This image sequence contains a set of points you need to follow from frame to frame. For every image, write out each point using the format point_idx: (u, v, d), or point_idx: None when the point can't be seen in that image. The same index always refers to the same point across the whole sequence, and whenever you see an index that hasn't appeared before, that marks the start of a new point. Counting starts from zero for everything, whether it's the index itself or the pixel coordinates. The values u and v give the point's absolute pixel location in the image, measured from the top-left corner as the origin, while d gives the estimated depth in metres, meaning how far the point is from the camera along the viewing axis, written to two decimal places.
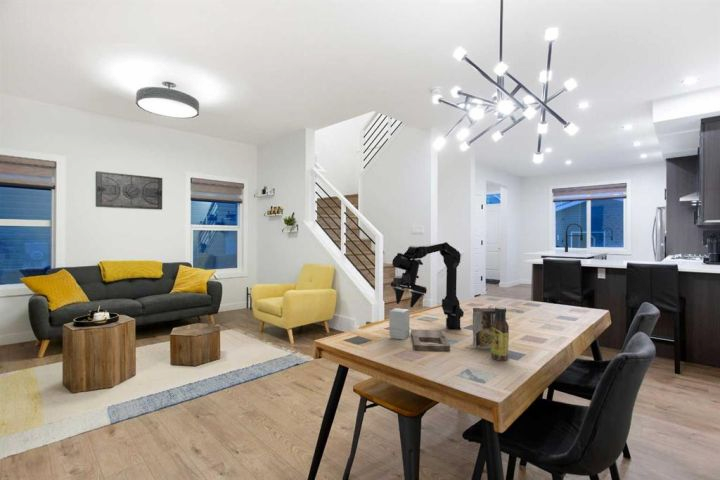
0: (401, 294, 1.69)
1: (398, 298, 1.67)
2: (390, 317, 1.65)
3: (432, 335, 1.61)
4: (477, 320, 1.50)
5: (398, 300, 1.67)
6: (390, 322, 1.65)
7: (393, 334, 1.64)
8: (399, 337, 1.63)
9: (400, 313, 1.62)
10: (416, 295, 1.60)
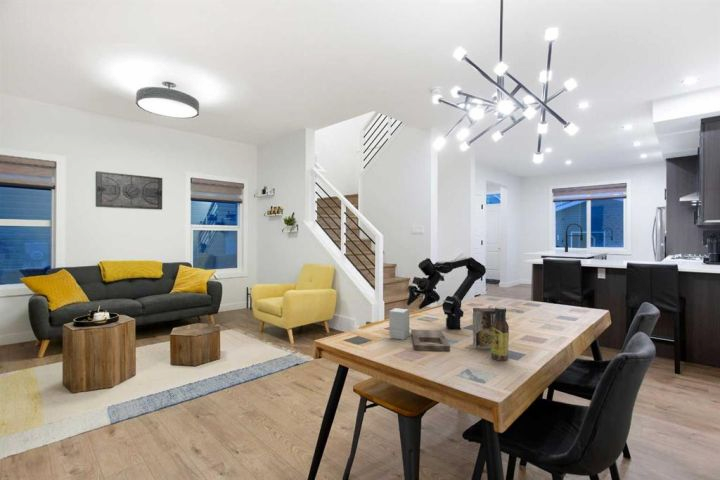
0: (414, 299, 1.76)
1: (410, 300, 1.75)
2: (390, 317, 1.65)
3: (432, 335, 1.61)
4: (477, 320, 1.49)
5: (409, 302, 1.75)
6: (390, 322, 1.65)
7: (393, 334, 1.64)
8: (399, 337, 1.63)
9: (400, 313, 1.62)
10: (428, 300, 1.67)
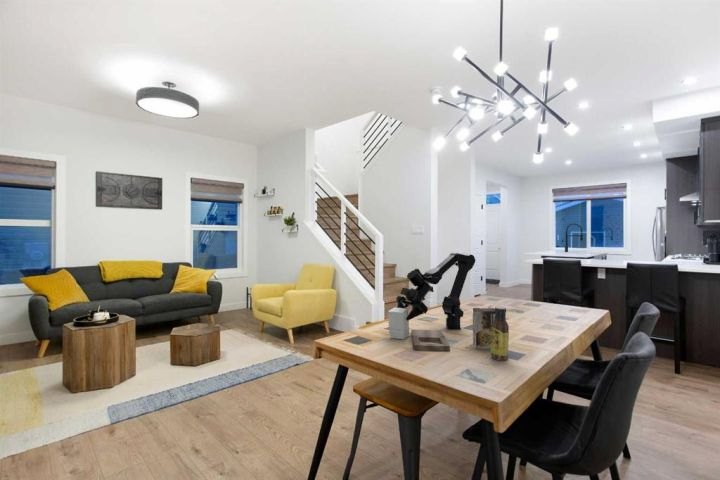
0: None
1: None
2: (389, 317, 1.64)
3: (432, 335, 1.61)
4: (477, 320, 1.50)
5: None
6: (389, 322, 1.64)
7: (393, 334, 1.64)
8: (399, 337, 1.63)
9: (399, 313, 1.62)
10: (416, 311, 1.64)
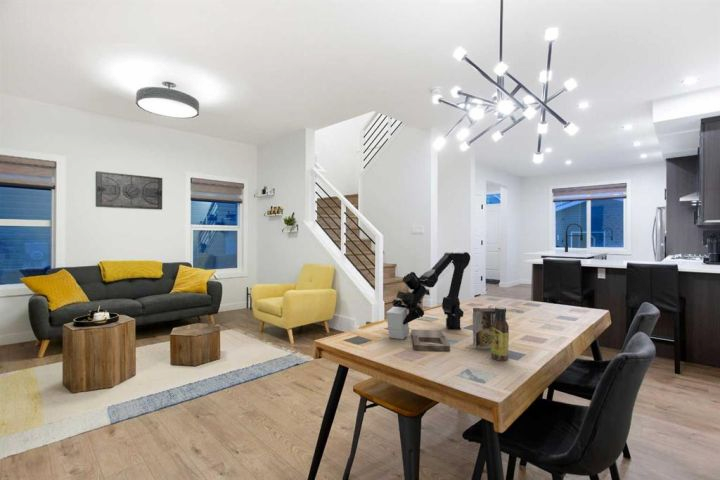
0: None
1: None
2: (387, 318, 1.63)
3: (432, 335, 1.61)
4: (477, 320, 1.50)
5: None
6: (388, 323, 1.64)
7: (392, 334, 1.64)
8: (398, 337, 1.62)
9: (397, 314, 1.60)
10: (412, 315, 1.62)
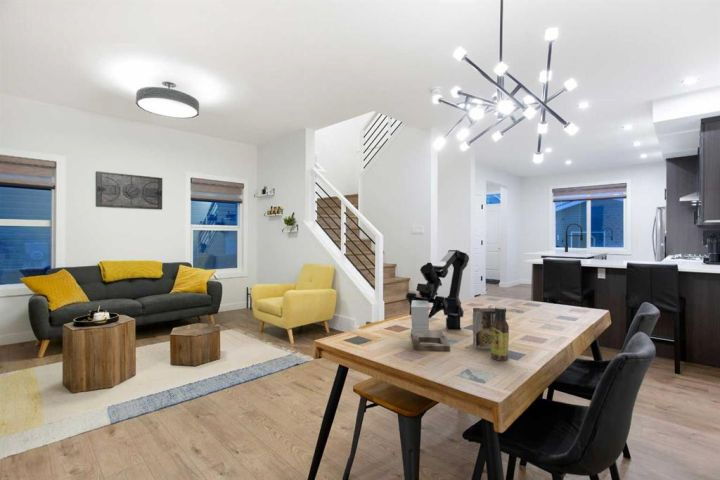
0: None
1: None
2: (412, 313, 1.52)
3: (432, 335, 1.61)
4: (477, 320, 1.50)
5: None
6: (412, 318, 1.53)
7: (416, 329, 1.54)
8: (423, 332, 1.53)
9: (424, 308, 1.51)
10: (436, 307, 1.55)
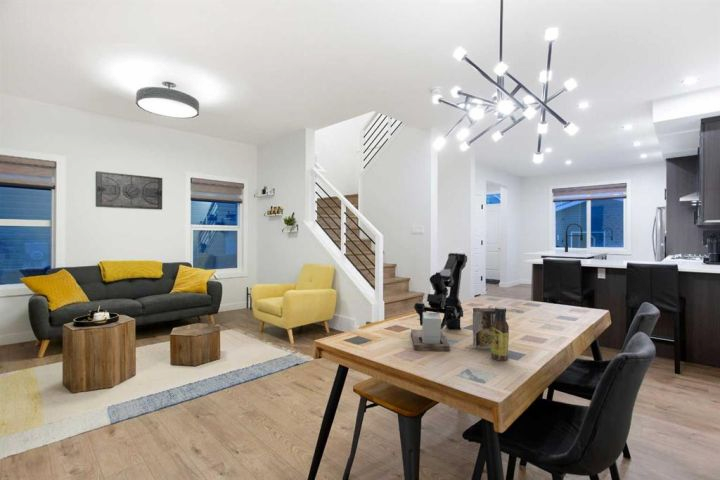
0: None
1: None
2: (425, 325, 1.51)
3: None
4: (477, 320, 1.50)
5: None
6: (425, 330, 1.51)
7: (428, 342, 1.52)
8: None
9: (437, 320, 1.50)
10: (447, 318, 1.55)
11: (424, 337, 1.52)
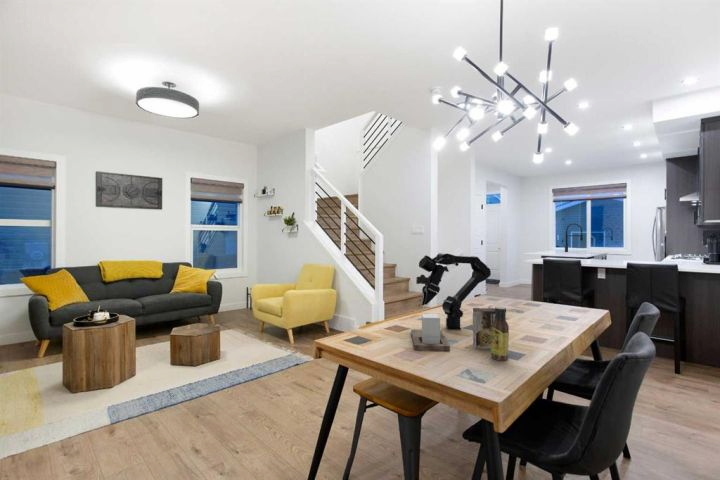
0: None
1: (424, 300, 1.81)
2: (424, 324, 1.52)
3: None
4: (477, 320, 1.50)
5: (424, 301, 1.80)
6: (424, 330, 1.52)
7: (427, 342, 1.52)
8: None
9: (436, 319, 1.52)
10: (431, 294, 1.71)
11: (424, 337, 1.52)
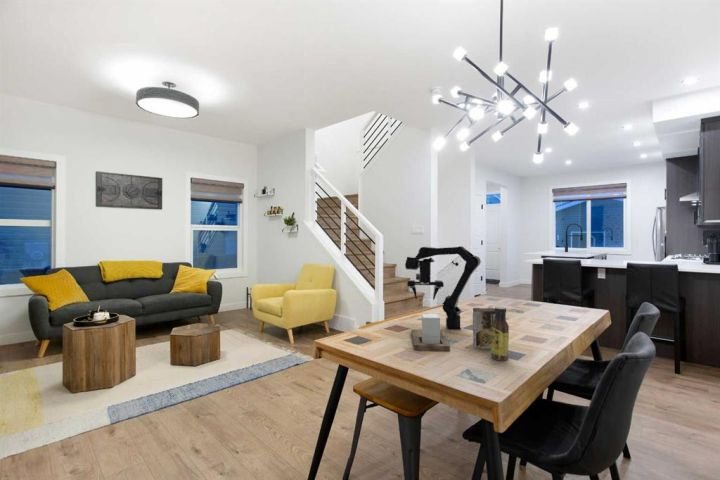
0: (434, 291, 1.88)
1: (433, 294, 1.90)
2: (424, 324, 1.52)
3: None
4: (477, 320, 1.50)
5: (433, 296, 1.90)
6: (424, 330, 1.52)
7: (427, 342, 1.52)
8: None
9: (436, 319, 1.52)
10: None
11: (424, 337, 1.52)
